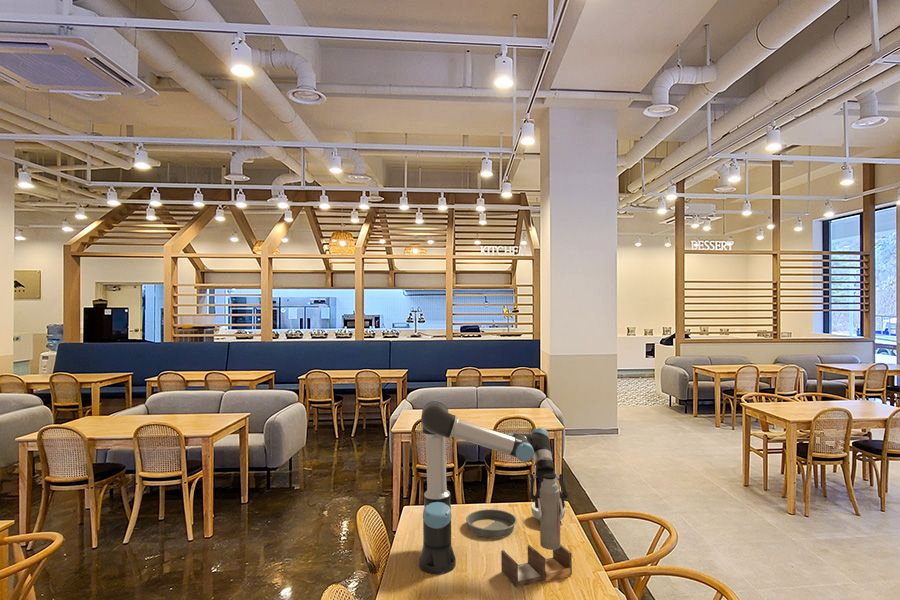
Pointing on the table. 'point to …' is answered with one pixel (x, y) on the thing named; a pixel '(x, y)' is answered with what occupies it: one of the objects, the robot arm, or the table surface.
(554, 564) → the rack
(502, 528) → the cake pan
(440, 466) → the robot arm
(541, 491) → the thermos bottle
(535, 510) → the cereal bowl
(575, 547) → the table surface
